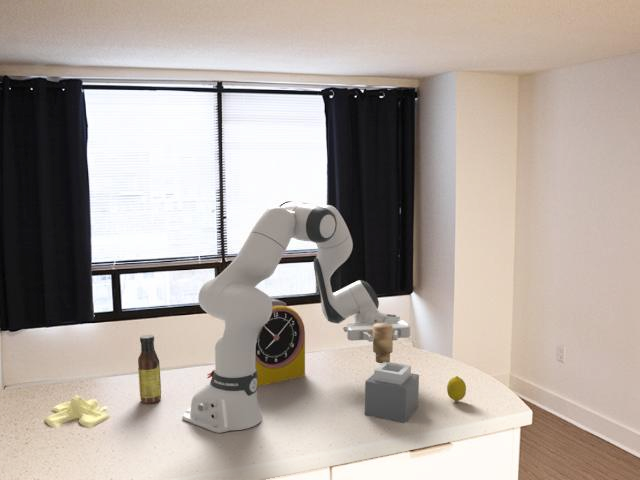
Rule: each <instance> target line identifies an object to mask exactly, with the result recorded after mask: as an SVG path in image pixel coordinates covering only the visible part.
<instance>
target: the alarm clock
mask: <svg viewBox="0 0 640 480" xmlns="http://www.w3.org/2000/svg"><path fill="white" fill-rule="evenodd" d="M270 299H271V301H272V306H273V309H272V314H271V317H270V319H269V320H268V322H267V323H266V324H265V325H263V326H262V327H261V329H260V331H259V334H258V337H257V341H256V369H257V387H261V386H264V385H265V386H266V385H269V384H274V383H279V382H283V381H287V379H288V380H291V378H292V379H296V378H300V376H301V377H304V375H305V376H306V331H305V330H306V329H305V325H304V322H303V319H302V317H301V316H300V315H299V314H298V312H297V311H296V310H294V309H292V308H291V307H288V306H287V303H286V302H284V301H281V300H279V299H274V298H270ZM295 377H296V378H295Z"/></svg>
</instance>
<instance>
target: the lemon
mask: <svg viewBox="0 0 640 480" xmlns="http://www.w3.org/2000/svg"><path fill="white" fill-rule="evenodd" d="M446 386H447V387H446V392H447V395H448V397H449V399H451V400H453V402H456V403H458V401H460V400H463V399H464V398H465V396H466V393H467V388H466V387H467V386H466V382H465V381H464V379H462V378H461V377H459V376H456V375H455V376H454V377H451V378H450V379H449V380H448V382H447V385H446Z"/></svg>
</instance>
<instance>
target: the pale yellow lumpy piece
mask: <svg viewBox="0 0 640 480" xmlns="http://www.w3.org/2000/svg"><path fill="white" fill-rule="evenodd" d="M107 409H108V406H107V405H104V406H103V407H100V405H99V403H98V401H97V399H93V398H92V399H91V398H90V399H89V400H85V399H84V398H82V397H81V396H80V395H78V394H75V396H73V397H72V399H71V400H70V401H65V402H61V403H60V404H57V405H55V406H53V407H52V408H51V409H50V411H53V412H55V413H52V414H50V415H48V416H46V417H45V418H44V423H46V424H47V425H48V426H50V427H51V428H56V429H57V428H58V427H60V426H61V425H62V424H64V423H66V422H67V423H68V422H70V421H72V420H75V419H79V420H78V422H79V423H80V425H82V426H84V427H86V428H88V429H91V428H93V427H96V426H98V425H99V424H100V423H103V422H104V421H106V420H108V419H110V418H111V417H112V415H111V414H108V413H105V412H107V411H108V410H107ZM97 410H98V411H97Z"/></svg>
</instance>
